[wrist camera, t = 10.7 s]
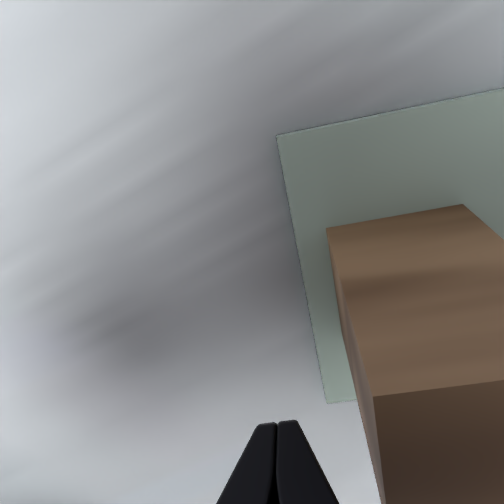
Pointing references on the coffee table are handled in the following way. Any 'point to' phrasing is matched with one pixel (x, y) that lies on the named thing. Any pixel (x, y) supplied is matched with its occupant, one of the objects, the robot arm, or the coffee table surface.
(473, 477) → the walnut block
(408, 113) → the pale green flat panel
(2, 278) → the coffee table surface
